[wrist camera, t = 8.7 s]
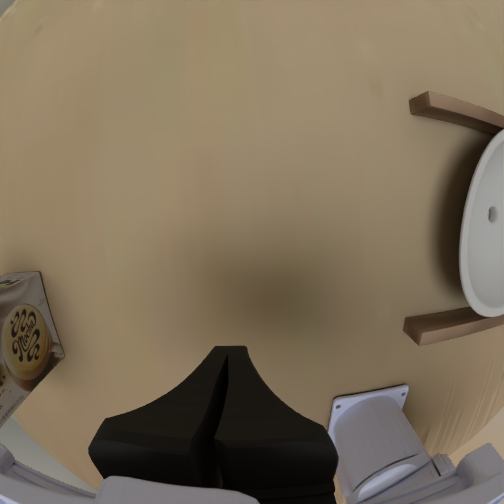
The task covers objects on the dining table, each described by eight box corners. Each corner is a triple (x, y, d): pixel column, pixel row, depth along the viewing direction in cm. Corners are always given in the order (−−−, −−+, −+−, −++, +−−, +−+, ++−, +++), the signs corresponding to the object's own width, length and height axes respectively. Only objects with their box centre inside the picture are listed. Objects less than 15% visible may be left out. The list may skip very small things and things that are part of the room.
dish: (483, 99, 18) (516, 90, 13) (538, 205, 20) (568, 210, 15) (391, 228, 20) (426, 239, 16) (464, 326, 22) (493, 348, 18)
